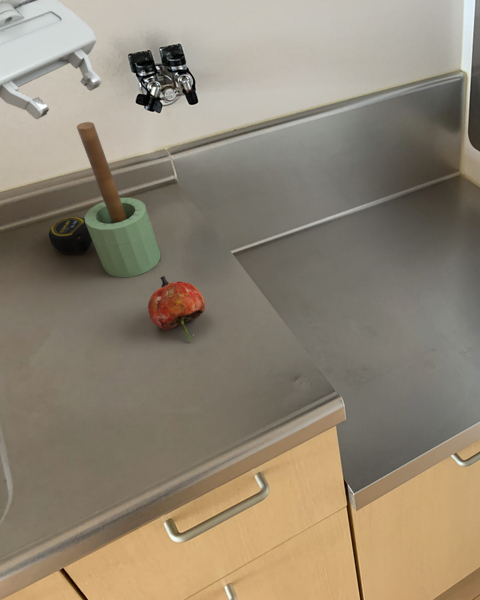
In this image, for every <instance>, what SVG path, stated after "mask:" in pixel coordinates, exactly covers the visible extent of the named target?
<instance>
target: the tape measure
mask: <svg viewBox="0 0 480 600" xmlns="http://www.w3.org/2000/svg"><path fill="white" fill-rule="evenodd" d="M48 238H49V242H50V243H51V246H52V247H53V249H54V250H55V251H57V252H58V253H62V254H65V255H66V254H69V255H70V254H76V253H85V252H87V251H89V249H90V247H91V245H92V243H93V241H92V238H91V236H90V233H89V231H88V228H87V226H86V223H85V217H80V216H72V217H66V218H62V219H60V220H58V221H56V222H55V223H53V224H52V225H51V226H50V228H49V230H48Z"/></svg>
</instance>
